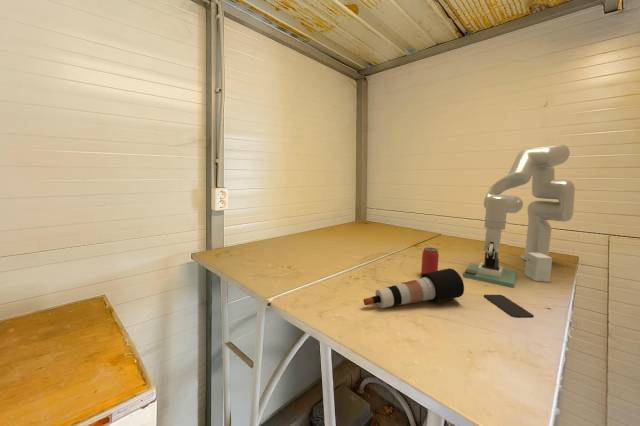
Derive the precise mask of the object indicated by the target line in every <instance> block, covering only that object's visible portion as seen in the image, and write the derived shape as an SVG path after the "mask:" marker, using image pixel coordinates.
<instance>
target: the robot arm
mask: <svg viewBox="0 0 640 426" xmlns="http://www.w3.org/2000/svg"><path fill="white" fill-rule="evenodd" d="M570 151H571V150H570V149H569V147H568V146H567V145H566V144H565V145H564V144H556V145H555V144H554V145H541V146H531V147H527V148H526V149H522V150H521V151H520V152H518V154H517V156H516V157H515V160H514V162H513V163H512V166H511V167H510V170H509V172H508V174H507V175H505V176H504V177H502V178H499V179H498V180H497V181H496V182H495V183H493V184H492V185H491V186H490V187H489V189H488V191H487V193H486V194H485V197H484V200H483V207H484V209H485V215H484V225H483V226H484V228H485V229H486V231H485V237H484V245H483V251H484V252H486V251H487V257H486V267H491V268H494V266H495V259H494V258H495V252H498V251H499V249H500V245H501V237H502V231H505V230H506V224H507V213H509V214H516V213H519V212H520V211H521V210H522V209H523V206H524V202H523V201H524V200H522V198H521V197H519V196H517V195H516V196H515V195H506V194H502V193H504V192H505V191H507V190H510V189H513V188H518V187H521V186H523V185H526V184H528V183H529V182H530V181H531V195H532V197H534V198H535V199H542V200H534V201H531V202H530V203H529V204H528V205H527V218H528V220H527V221H528V222H527V223H528V224H527V231H526V232H527V233H526V240H525V249H524V254H521V255H520V259H522V260H524V261H526V256H527V252H532V253H542V254H544V255H546V256H549V252H550V244H551V236H552V227H551V225H550V223H549V222H548V221H554V222H562V223H563V222H564V223H566V222H569V221H570V220H572V217H573V215H574V208H575V207H574V205H575V192H576V191H575V190H576V189H575V188H576V187H575V184H574V182H572V180H567V179H555V167H556V166H557V167H558V166H560V165H562V164H564V163H566V162H567V160H568V159H569V157H570ZM545 199H546V200H545ZM550 200H551V201H550ZM552 200H558V201H552Z"/></svg>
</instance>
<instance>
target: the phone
mask: <svg viewBox="0 0 640 426" xmlns="http://www.w3.org/2000/svg"><path fill="white" fill-rule="evenodd" d="M483 298H484V299H486V300H487V301H489V302H490V303H491V304H492V305H494V306H495V307H497V308H498V309H500V311H503V312H504V313H505V314H507V315H508V316H510V317H511V318H519V319H520V318H529V319H530V318H534V316H535V315H534V314H533V313H531V312H530V311H528V310H526V309H525V308H523V307H521V305H519V304H517V303H516V302H514V301H513V300H511V299H509V298H508V297H506V296H504V295H502V294H484V295H483Z"/></svg>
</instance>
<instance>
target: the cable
mask: <svg viewBox="0 0 640 426" xmlns="http://www.w3.org/2000/svg"><path fill="white" fill-rule="evenodd" d="M464 291H465V285H464V281H463V278H462V276H461V275H460V274H459V273H458V271H456V270H455V269H454V268H451V267H450V268H444V269H440V270H438V271H434V272H429V273H424V274H421V275H420V277H419V278H417V279H413V280H409V281H405V282H404V281H403V282H401V283H398V284H394V285H391V286H386V287H384V288H377V289H376V290H375V295H373V296H370V297H367V298H363V304H364V306H369V305H375V304H377V305H378V306H379V307H380V309H385V308H389V307H396V306H402V305H407V304H408V305H410V304H414V303H419V302H423V301H428V302H430V303H431V304H437V303H440V302H445V301H450V300H452V299H453V300H454V299H457V298H461V297H462V296H463V295H464Z"/></svg>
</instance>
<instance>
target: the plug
mask: <svg viewBox="0 0 640 426" xmlns="http://www.w3.org/2000/svg"><path fill="white" fill-rule="evenodd" d="M487 251H488V250H486V251H485V253H484V262H483V263H484V268H487V269H492V270H498V266H500V258H499V252H498V251H497V252H495V258H494V259H495V266H494V268H491V267H486V257H487Z"/></svg>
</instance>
